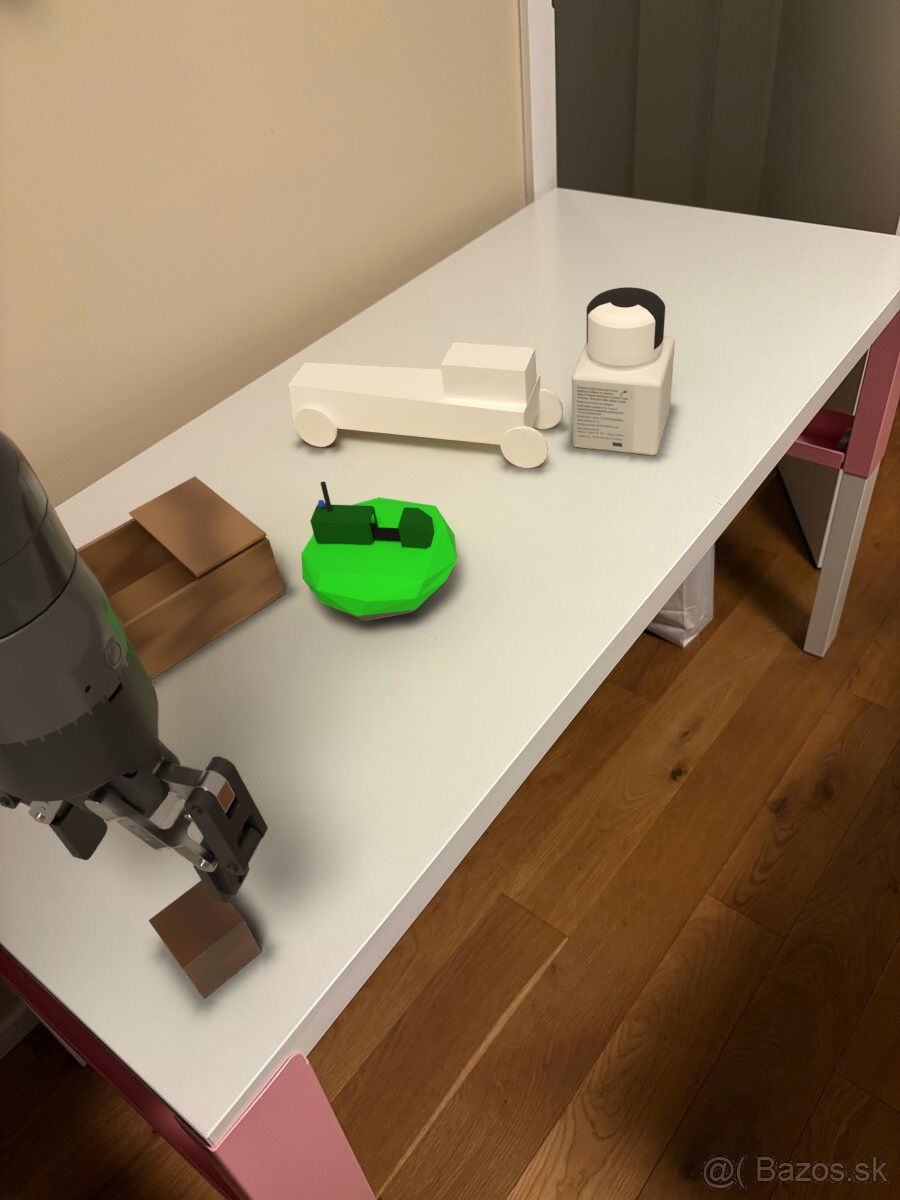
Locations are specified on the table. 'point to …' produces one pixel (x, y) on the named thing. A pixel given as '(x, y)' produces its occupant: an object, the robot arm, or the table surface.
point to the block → (205, 938)
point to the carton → (183, 572)
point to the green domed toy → (377, 556)
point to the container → (623, 374)
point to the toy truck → (433, 401)
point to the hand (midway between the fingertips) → (160, 864)
